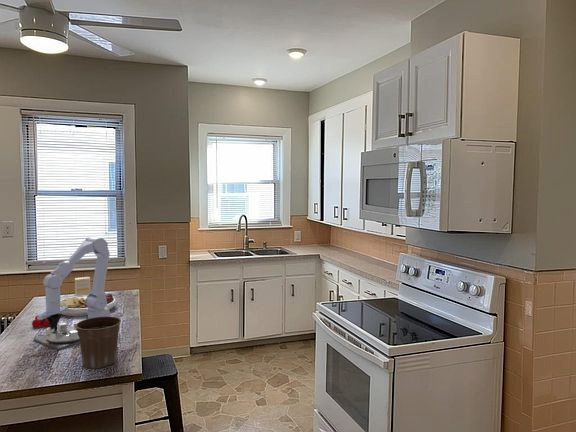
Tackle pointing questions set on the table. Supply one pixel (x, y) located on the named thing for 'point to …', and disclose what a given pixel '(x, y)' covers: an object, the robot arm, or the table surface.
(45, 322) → the alarm clock
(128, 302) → the table surface
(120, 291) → the table surface
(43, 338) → the mount plate
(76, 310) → the bowl
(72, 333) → the metal disc with lugs
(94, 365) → the plant pot
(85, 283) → the supplement box
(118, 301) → the table surface
